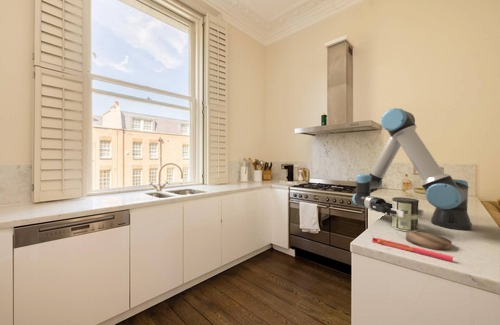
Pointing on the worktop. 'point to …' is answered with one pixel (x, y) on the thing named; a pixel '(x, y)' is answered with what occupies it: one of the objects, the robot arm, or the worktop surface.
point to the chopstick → (414, 249)
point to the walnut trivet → (429, 240)
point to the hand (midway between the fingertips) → (413, 214)
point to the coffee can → (405, 214)
